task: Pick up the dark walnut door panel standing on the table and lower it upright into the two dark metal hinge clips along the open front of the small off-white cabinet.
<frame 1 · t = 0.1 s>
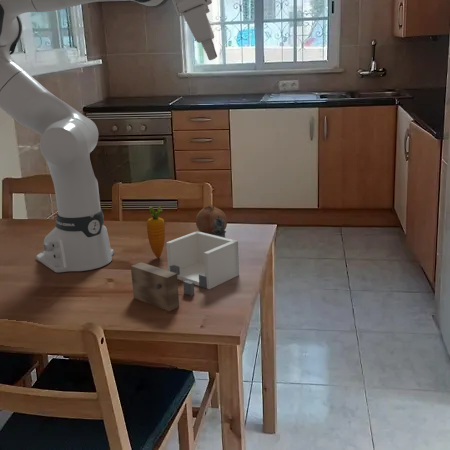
hand: (213, 59, 143), 52 cm above the table, tool tilted 20°, fingers open, 8 cm apart
onion: (212, 237, 176), on the table
salt shaker: (220, 258, 159), on the table
carrot: (158, 258, 160), on the table
cabinet: (203, 275, 147), on the table
door: (156, 302, 133), on the table
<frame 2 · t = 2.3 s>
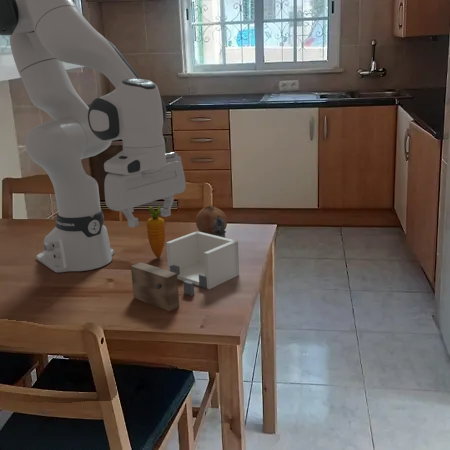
hand: (150, 221, 127), 19 cm above the table, tool pointing down, fingers open, 8 cm apart
nothing on the table moved.
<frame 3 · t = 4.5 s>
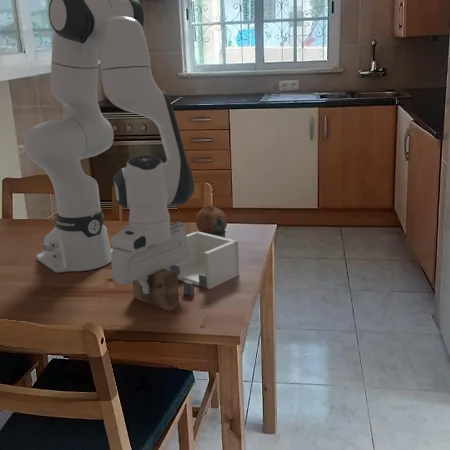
hand: (155, 289, 132), 3 cm above the table, tool pointing down, fingers closed on door, 3 cm apart
door: (156, 302, 133), on the table, touching gripper
everything else where it was.
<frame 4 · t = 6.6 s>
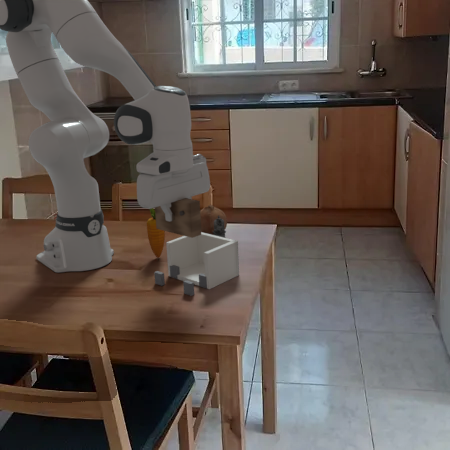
hand: (177, 218, 136), 17 cm above the table, tool pointing down, fingers closed on door, 3 cm apart
door: (178, 231, 137), point 14 cm above the table, touching gripper
everything else where it was.
when the fingers open (4 cm above the table, at t = 8.8 s): door moves 1 cm, on the table.
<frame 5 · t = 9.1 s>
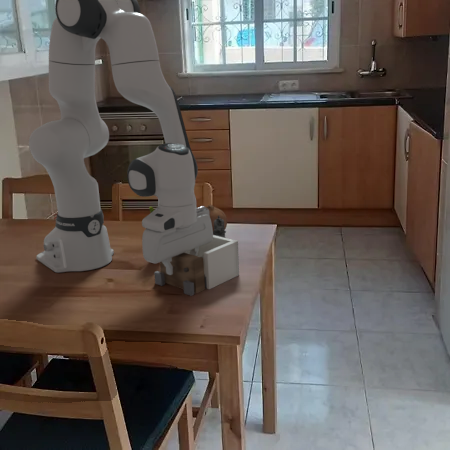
hand: (181, 269, 140), 4 cm above the table, tool pointing down, fingers open, 5 cm apart
door: (182, 285, 141), on the table
everything else where it was.
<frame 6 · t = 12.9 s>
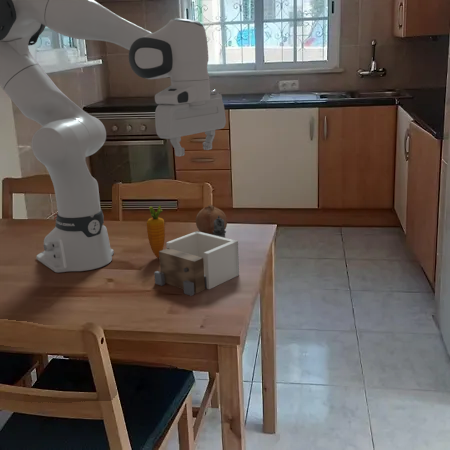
hand: (194, 152, 138), 31 cm above the table, tool pointing down, fingers open, 8 cm apart
nothing on the table moved.
at the end: door 0.2 cm from the target spot on the cabinet, point 0.0 cm above the cabinet's base; door tilted 0°; the gripper is holding nothing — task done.
